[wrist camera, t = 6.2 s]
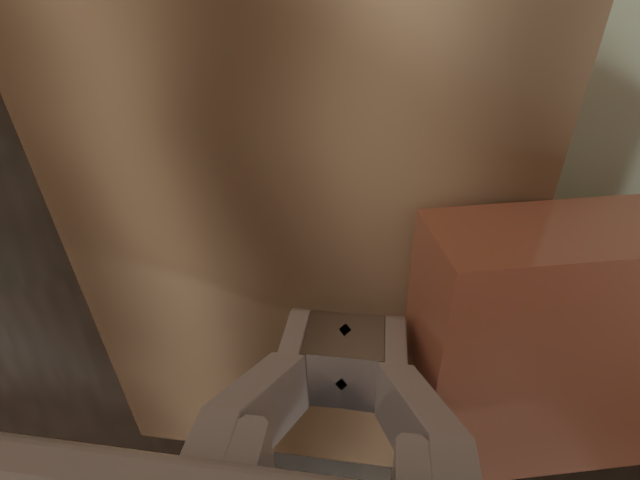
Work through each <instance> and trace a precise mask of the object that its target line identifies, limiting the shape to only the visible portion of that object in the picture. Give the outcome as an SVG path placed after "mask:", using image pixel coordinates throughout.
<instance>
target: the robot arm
mask: <svg viewBox="0 0 640 480" xmlns="http://www.w3.org/2000/svg"><path fill="white" fill-rule="evenodd" d="M308 406H317V407H329V408H341V409H348V410H355V411H363V412H370V413H375V414H374V415H375V417H376V419H377V420H378V422H379V424H380V426H381V428H382V430H383V431H384V433H385V435H386V437H387V439H388V441H389V443H390V444H391V446H392V448H393V450H394V458H393V467H392V475H391V480H483V478H482V472H481V467H480V462H479V456H478V451H477V445H476V440H475V438H474V437H473V436H472V435H471V434H470V432H469V431H468V430H467V429H466V428H465V426H464V425H463V424H462V423H461V422H460V420H459V419H458V418H457V417H456V416H455V414H454V413H453V412H452V411H451V410H450V408H449V407H448V406H447V405H446V403H445V402H444V401H443V400H442V399H441V397H440V396H439V395H438V394H437V393H436V391H435V390H434V389H433V388H432V387H431V385H430V384H429V383H428V382H427V381H426V379H425V378H424V377H423V376H422V375H421V373H420V372H419V371H418V370H417V369H416V367H415V366H414V365H408V357H407V335H406V319H405V317H403V316H386V315H385V316H381V315H367V314H353V313H341V312H331V311H321V310H308V309H298V308H293V309H292V310H291V311H290V314H289V317H288V320H287V323H286V326H285V330H284V333H283V336H282V339H281V342H280V346H279V349H278V352H271V353H270V354H269V355H268V356H266V357H265V358H264V359H262V360H261V361H260V362H259V363H257V364H256V365H255V366H253V367H252V368H251V369H250V370H248V371H247V372H246V373H244V374H243V375H242V376H241V377H239V378H238V379H237V380H235V381H234V382H233V383H232V384H230V385H229V386H228V387H226V388H225V389H224V390H223V391H221V392H220V393H219V394H217V395H216V396H215V397H214V398H212V399H211V400H210V401H208V402H207V403H206V404H205V405H203V406H202V407H201V409H200V411H199V413H198V415H197V417H196V419H195V422H194V424H193V426H192V428H191V430H190V433H189V435H188V437H187V439H186V441H185V444H184V446H183V448H182V450H181V452H180V454H179V455H174V454H167V453H159V452H152V451H144V450H137V449H129V448H121V447H114V446H106V445H99V444H91V443H84V442H76V441H69V440H61V439H54V438H46V437H39V436H31V435H23V434H16V433H8V432H1V431H0V480H361V479H354V478H346V477H339V476H331V475H324V474H316V473H308V472H301V471H293V470H286V469H278V468H275V463H274V456H273V448H274V447H275V446H276V445H277V444H278V443H279V441H280V440H281V439H282V438H283V437H284V436H285V434H286V433H287V432H288V431H289V430H290V429H291V427H292V426H293V425H294V424H295V423H296V422H297V421H298V419H299V418H300V417H301V416H302V415H303V414H304V412H305V411H306V410H307V409H308Z"/></svg>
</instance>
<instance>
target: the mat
mask: <svg viewBox="0 0 640 480" xmlns="http://www.w3.org/2000/svg"><path fill="white" fill-rule="evenodd" d="M628 194H640V0H614V1H613V5H612V8H611V11H610V14H609V18H608V21H607V24H606V27H605V31H604V34H603V37H602V40H601V44H600V47H599V50H598V54H597V57H596V60H595V63H594V67H593V70H592V73H591V76H590V80H589V83H588V86H587V90H586V93H585V96H584V99H583V103H582V106H581V109H580V112H579V116H578V119H577V122H576V126H575V129H574V132H573V135H572V139H571V142H570V145H569V148H568V152H567V155H566V158H565V161H564V165H563V168H562V171H561V175H560V178H559V181H558V184H557V188H556V191H555V194H554V197H553V200H556V199H570V198H585V197H599V196H614V195H628Z"/></svg>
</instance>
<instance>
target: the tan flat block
mask: <svg viewBox="0 0 640 480" xmlns="http://www.w3.org/2000/svg"><path fill="white" fill-rule="evenodd" d="M613 1H614V0H0V93H1V96H2V98H3V101H4V103H5V106H6V108H7V110H8V113H9V115H10V118H11V120H12V123H13V125H14V127H15V130H16V132H17V135H18V137H19V140H20V142H21V144H22V147H23V149H24V152H25V154H26V157H27V159H28V162H29V164H30V166H31V169H32V171H33V174H34V176H35V179H36V181H37V183H38V186H39V188H40V191H41V193H42V196H43V198H44V200H45V203H46V205H47V208H48V210H49V213H50V215H51V217H52V220H53V222H54V225H55V227H56V230H57V232H58V234H59V237H60V239H61V242H62V244H63V247H64V249H65V251H66V254H67V256H68V259H69V261H70V264H71V266H72V268H73V271H74V273H75V276H76V278H77V281H78V283H79V285H80V288H81V290H82V293H83V295H84V298H85V300H86V303H87V305H88V307H89V310H90V312H91V315H92V317H93V320H94V322H95V324H96V327H97V329H98V332H99V334H100V337H101V339H102V341H103V344H104V346H105V349H106V351H107V354H108V356H109V358H110V361H111V363H112V366H113V368H114V371H115V373H116V375H117V378H118V380H119V383H120V385H121V388H122V390H123V392H124V395H125V397H126V400H127V402H128V405H129V407H130V409H131V412H132V414H133V417H134V419H135V422H136V424H137V426H138V429H139V431H140V434H141V435H143V436H151V437H159V438H167V439H175V440H182V441H186V439H187V437H188V435H189V433H190V430H191V428H192V426H193V424H194V422H195V419H196V417H197V415H198V413H199V411H200V409H201V407H202V406H203V405H205V404H206V403H207V402H208V401H210V400H211V399H212V398H214V397H215V396H216V395H217V394H219V393H220V392H221V391H223V390H224V389H225V388H226V387H228V386H229V385H230V384H232V383H233V382H234V381H235V380H237V379H238V378H239V377H241V376H242V375H243V374H244V373H246V372H247V371H248V370H250V369H251V368H252V367H253V366H255V365H256V364H257V363H259V362H260V361H261V360H262V359H264V358H265V357H266V356H268V355H269V354H270V353H271V352H278V349H279V346H280V342H281V339H282V336H283V333H284V330H285V326H286V323H287V320H288V317H289V314H290V311H291V310H292V309H293V308H298V309H308V310H321V311H331V312H341V313H353V314H367V315H381V316H385V315H386V316H403V317H405V312H406V303H407V293H408V284H409V275H410V265H411V256H412V246H413V237H414V228H415V218H416V209H426V208H440V207H455V206H469V205H484V204H498V203H513V202H527V201H542V200H553V197H554V194H555V191H556V188H557V184H558V181H559V178H560V175H561V171H562V168H563V165H564V161H565V158H566V155H567V152H568V148H569V145H570V142H571V139H572V135H573V132H574V129H575V126H576V122H577V119H578V116H579V112H580V109H581V106H582V103H583V99H584V96H585V93H586V90H587V86H588V83H589V80H590V76H591V73H592V70H593V67H594V63H595V60H596V57H597V54H598V50H599V47H600V44H601V40H602V37H603V34H604V31H605V27H606V24H607V21H608V18H609V14H610V11H611V8H612V5H613ZM374 414H375V413H370V412H363V411H355V410H348V409H341V408H329V407H317V406H308V409H307V410H306V411H305V412H304V414H303V415H302V416H301V417H300V418H299V419H298V421H297V422H296V423H295V424H294V425H293V426H292V427H291V429H290V430H289V431H288V432H287V433H286V434H285V436H284V437H283V438H282V439H281V440H280V441H279V443H278V444H277V445H276V446H275V447H274V448H273V452H276V453H284V454H292V455H299V456H307V457H315V458H323V459H331V460H338V461H346V462H354V463H362V464H370V465H377V466H385V467H393V458H394V450H393V448H392V446H391V444H390V443H389V441H388V439H387V437H386V435H385V433H384V431H383V430H382V428H381V426H380V424H379V422H378V420H377V419H376V417H375V415H374Z"/></svg>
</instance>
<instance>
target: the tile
mask: <svg viewBox="0 0 640 480" xmlns="http://www.w3.org/2000/svg"><path fill="white" fill-rule="evenodd" d="M405 319H406V335H407V357H408V365H414V366H415V367H416V369H417V370H418V371H419V372H420V373H421V375H422V376H423V377H424V378H425V379H426V381H427V382H428V383H429V384H430V385H431V387H432V388H433V389H434V390H435V391H436V393H437V394H438V395H439V396H440V397H441V399H442V400H443V401H444V402H445V403H446V405H447V406H448V407H449V408H450V410H451V411H452V412H453V413H454V414H455V416H456V417H457V418H458V419H459V420H460V422H461V423H462V424H463V425H464V426H465V428H466V429H467V430H468V431H469V432H470V434H471V435H472V436H473V437H474V438H475V440H476V445H477V451H478V456H479V462H480V467H481V472H482V478H483V480H513V479H521V478H530V477H539V476H548V475H556V474H565V473H574V472H583V471H591V470H600V469H609V468H617V467H626V466H635V465H640V194H628V195H614V196H599V197H585V198H570V199H556V200H542V201H527V202H513V203H498V204H484V205H469V206H455V207H440V208H426V209H416V218H415V228H414V237H413V246H412V256H411V265H410V275H409V284H408V293H407V303H406V312H405Z"/></svg>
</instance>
